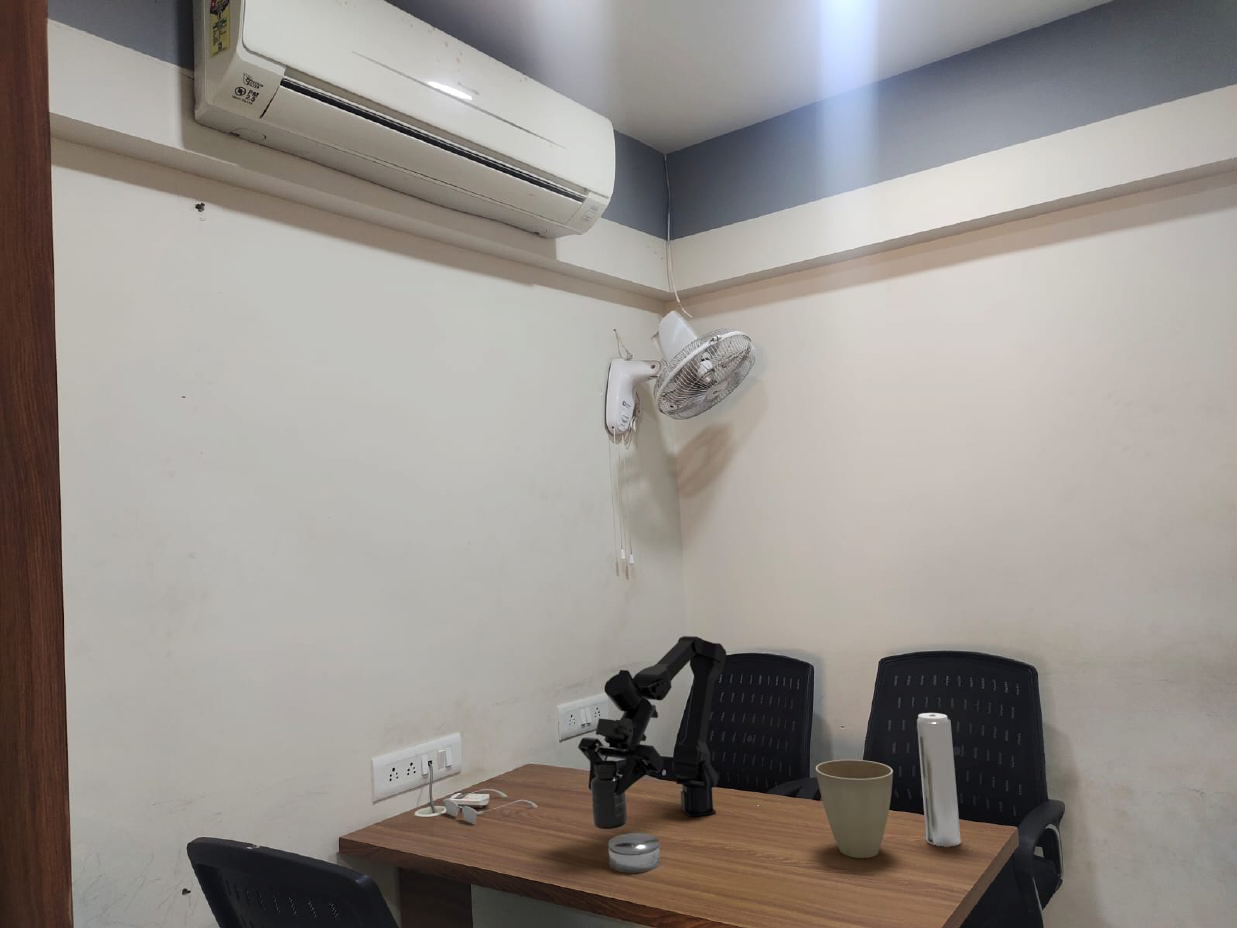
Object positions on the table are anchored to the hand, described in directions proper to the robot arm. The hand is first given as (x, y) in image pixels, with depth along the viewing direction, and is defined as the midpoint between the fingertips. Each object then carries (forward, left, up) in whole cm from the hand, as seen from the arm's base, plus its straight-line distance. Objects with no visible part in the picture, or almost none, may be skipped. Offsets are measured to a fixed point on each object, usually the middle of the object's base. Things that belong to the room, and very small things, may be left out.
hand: (603, 791), depth 167 cm
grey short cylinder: (-5, +4, -13) cm, 14 cm away
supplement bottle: (-1, -1, -7) cm, 7 cm away
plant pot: (-48, +16, -13) cm, 52 cm away
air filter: (-66, +18, -13) cm, 69 cm away
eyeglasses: (+17, -43, -14) cm, 48 cm away
